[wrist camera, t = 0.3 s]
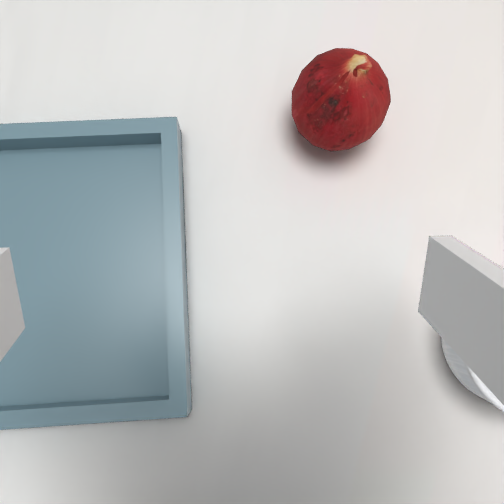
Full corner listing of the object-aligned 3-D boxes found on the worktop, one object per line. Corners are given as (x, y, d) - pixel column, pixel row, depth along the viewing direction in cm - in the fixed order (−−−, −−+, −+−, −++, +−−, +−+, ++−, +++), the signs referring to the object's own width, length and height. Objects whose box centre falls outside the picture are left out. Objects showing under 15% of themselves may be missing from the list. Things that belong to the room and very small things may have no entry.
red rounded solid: (331, 184, 31) (364, 137, 23) (268, 129, 31) (278, 63, 23) (385, 125, 31) (436, 59, 24) (323, 72, 32) (351, -11, 24)
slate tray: (191, 408, 28) (187, 416, 26) (-108, 428, 27) (-142, 439, 25) (181, 133, 31) (176, 116, 28) (-92, 144, 30) (-122, 128, 28)
